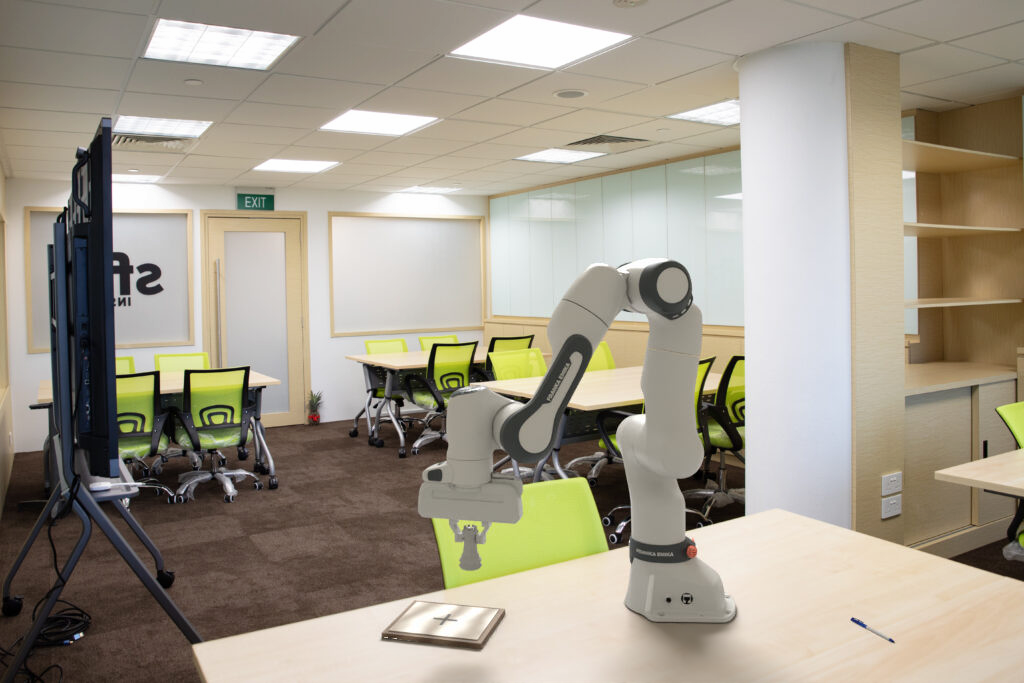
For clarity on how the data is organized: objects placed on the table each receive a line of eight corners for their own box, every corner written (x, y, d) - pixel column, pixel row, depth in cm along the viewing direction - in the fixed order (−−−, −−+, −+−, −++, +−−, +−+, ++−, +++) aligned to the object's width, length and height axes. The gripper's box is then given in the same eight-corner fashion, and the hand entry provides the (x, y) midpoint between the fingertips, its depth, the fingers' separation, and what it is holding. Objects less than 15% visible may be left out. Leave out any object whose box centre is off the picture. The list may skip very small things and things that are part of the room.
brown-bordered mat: (505, 613, 155) (505, 607, 155) (481, 648, 140) (480, 642, 140) (414, 604, 161) (414, 599, 161) (381, 637, 145) (381, 631, 145)
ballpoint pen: (848, 621, 149) (849, 616, 149) (852, 620, 149) (852, 615, 149) (892, 643, 139) (892, 638, 139) (896, 643, 139) (896, 637, 139)
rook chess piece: (458, 563, 148) (458, 523, 147) (481, 562, 148) (481, 522, 148) (459, 571, 143) (458, 530, 143) (482, 571, 144) (482, 529, 143)
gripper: (526, 470, 145) (527, 541, 146) (426, 464, 150) (427, 533, 151) (518, 477, 139) (518, 552, 140) (414, 471, 144) (415, 543, 145)
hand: (470, 542), depth 146 cm, fingers closed on rook chess piece, 3 cm apart
